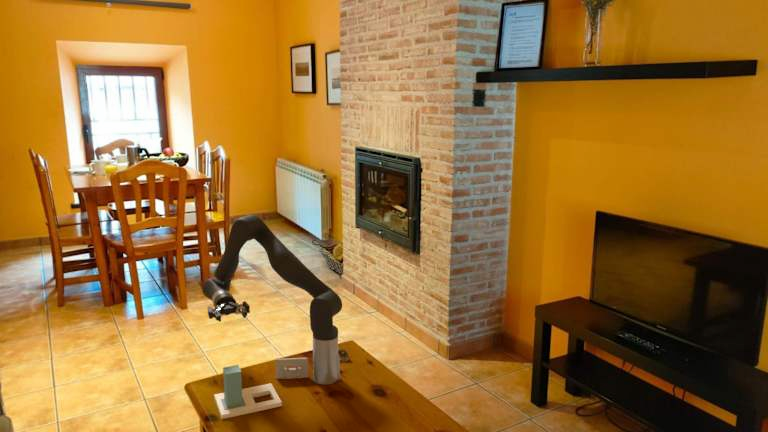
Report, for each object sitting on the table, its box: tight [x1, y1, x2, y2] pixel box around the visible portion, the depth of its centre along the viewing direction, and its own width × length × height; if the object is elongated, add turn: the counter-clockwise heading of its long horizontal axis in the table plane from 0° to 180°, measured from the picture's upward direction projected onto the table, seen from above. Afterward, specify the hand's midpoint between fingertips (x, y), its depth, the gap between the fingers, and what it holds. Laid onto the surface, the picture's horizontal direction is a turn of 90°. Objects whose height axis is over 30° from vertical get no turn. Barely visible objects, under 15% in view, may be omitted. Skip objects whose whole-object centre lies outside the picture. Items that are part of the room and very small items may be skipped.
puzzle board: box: [213, 382, 283, 420], centre depth 198 cm, size 20×14×2 cm
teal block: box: [222, 364, 243, 407], centre depth 193 cm, size 5×5×12 cm
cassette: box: [275, 357, 309, 380], centre depth 215 cm, size 12×2×8 cm, turn 97°
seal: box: [338, 348, 350, 363], centre depth 232 cm, size 9×5×15 cm
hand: (232, 316), depth 201 cm, fingers open, 8 cm apart
